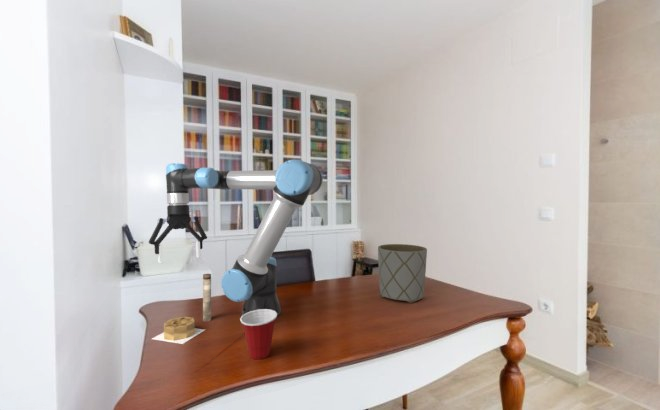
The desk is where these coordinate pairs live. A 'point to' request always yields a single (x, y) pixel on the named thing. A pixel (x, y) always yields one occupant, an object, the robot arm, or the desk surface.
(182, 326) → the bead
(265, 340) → the plastic cup
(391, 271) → the planter
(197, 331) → the mat
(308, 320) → the desk surface
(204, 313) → the stone peg
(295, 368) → the desk surface
